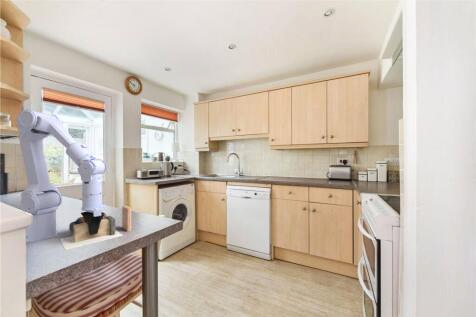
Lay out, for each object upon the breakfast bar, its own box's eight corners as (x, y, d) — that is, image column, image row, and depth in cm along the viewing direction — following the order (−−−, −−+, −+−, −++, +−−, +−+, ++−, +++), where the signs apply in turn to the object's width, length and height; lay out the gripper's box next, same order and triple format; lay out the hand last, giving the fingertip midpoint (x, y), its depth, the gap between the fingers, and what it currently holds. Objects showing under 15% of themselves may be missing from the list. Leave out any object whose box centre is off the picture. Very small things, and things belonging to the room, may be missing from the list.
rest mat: (65, 251, 62) (65, 249, 62) (60, 240, 70) (60, 238, 70) (123, 236, 73) (123, 235, 73) (113, 228, 81) (113, 227, 81)
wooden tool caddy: (75, 243, 66) (75, 226, 66) (72, 238, 70) (72, 222, 70) (115, 234, 74) (115, 219, 74) (110, 230, 78) (110, 215, 78)
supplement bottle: (108, 227, 83) (77, 237, 72) (98, 224, 85) (67, 234, 75) (108, 212, 83) (77, 221, 72) (98, 210, 85) (67, 218, 75)
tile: (127, 232, 77) (127, 208, 77) (122, 228, 81) (122, 206, 81) (131, 231, 78) (131, 208, 78) (125, 228, 82) (125, 205, 82)
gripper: (111, 195, 69) (111, 235, 69) (100, 190, 79) (100, 225, 79) (86, 198, 64) (86, 241, 64) (77, 192, 74) (77, 229, 74)
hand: (92, 232), depth 71 cm, fingers closed on wooden tool caddy, 3 cm apart
